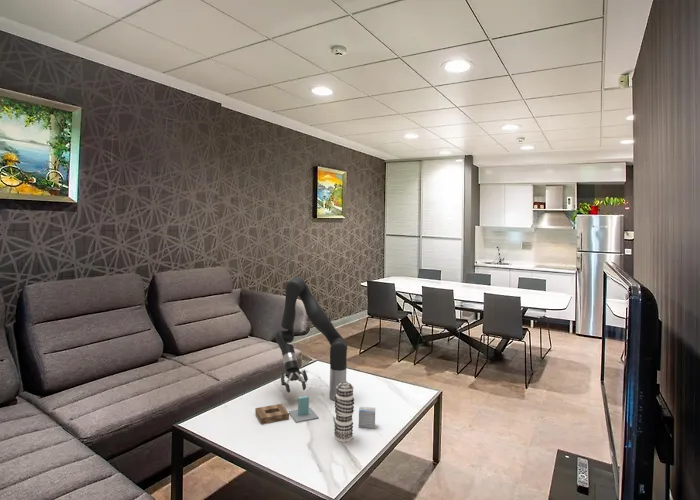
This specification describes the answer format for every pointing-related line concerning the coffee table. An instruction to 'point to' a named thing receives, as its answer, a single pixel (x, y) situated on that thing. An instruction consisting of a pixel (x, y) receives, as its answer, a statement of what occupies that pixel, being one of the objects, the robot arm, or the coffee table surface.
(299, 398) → the teal rectangular block
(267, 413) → the holder
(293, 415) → the mat
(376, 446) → the coffee table surface
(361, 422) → the medicine box
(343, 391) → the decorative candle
